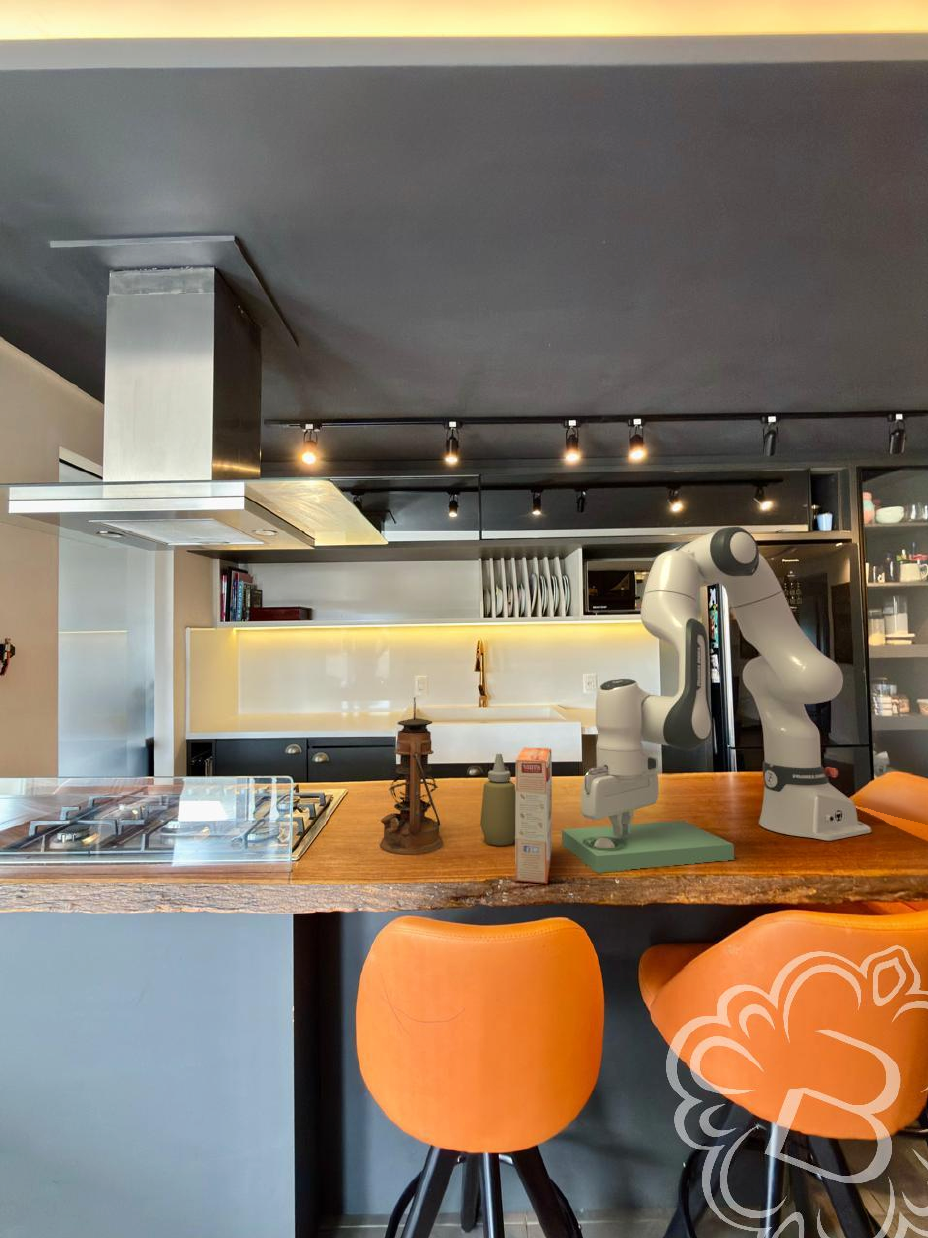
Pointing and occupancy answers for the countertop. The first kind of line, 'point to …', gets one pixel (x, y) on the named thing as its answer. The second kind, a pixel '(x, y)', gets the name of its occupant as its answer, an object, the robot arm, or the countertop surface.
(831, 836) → the robot arm
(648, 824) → the putting board
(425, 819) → the lantern
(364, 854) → the countertop surface
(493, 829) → the squeeze bottle
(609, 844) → the ball
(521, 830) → the cracker box
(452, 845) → the countertop surface
